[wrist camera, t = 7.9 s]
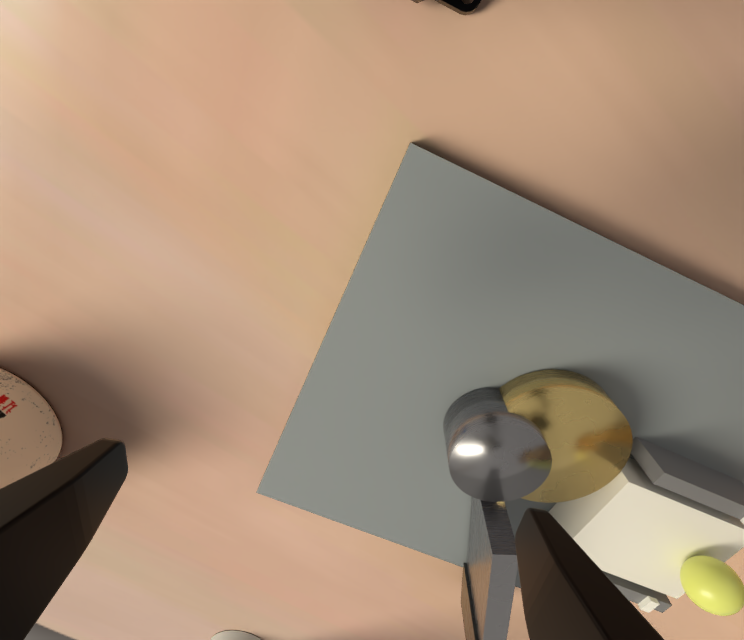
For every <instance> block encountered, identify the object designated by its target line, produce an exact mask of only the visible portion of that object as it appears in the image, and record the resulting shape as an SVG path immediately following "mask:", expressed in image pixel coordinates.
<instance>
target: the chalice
mask: <svg viewBox="0 0 744 640" xmlns="http://www.w3.org/2000/svg"><path fill="white" fill-rule="evenodd" d="M211 640H261V639H260V638H258V637H256V636H254V635H252V634H249V633H246V632H243V631H234V630H231V631H223V632H220V633H217V634H215V635H214V636H213V637H212V638H211Z"/></svg>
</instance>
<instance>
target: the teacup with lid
mask: <svg viewBox="0 0 744 640" xmlns="http://www.w3.org/2000/svg"><path fill="white" fill-rule="evenodd" d="M61 446H62V431H61V427H60V424H59V421H58V419H57V417H56V415H55V413H54V411H53V410H52V408H51V407H50V405H49V404H48V403H47V402H46V400H45V399H44V398H43V397H42V396H41V395H40V394H39V393H38V392H37V391H36V390H35V389H34V388H32V387H31V386H30V385H29V384H27V383H26V382H25V381H23V380H22V379H20V378H19V377H17V376H15V375H13V374H12V373H10V372H8V371H5V370H3V369H1V368H0V489H1V488H3V487H5V486H7V485H9V484H11V483H13V482H15V481H17V480H19V479H21V478H23V477H25V476H27V475H29V474H31V473H33V472H35V471H37V470H39V469H41V468H43V467H45V466H47V465H49V464H51V463H53V462H54V461H55V460H56V458H57V457H58V455H59V453H60V450H61Z"/></svg>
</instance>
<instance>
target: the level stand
mask: <svg viewBox="0 0 744 640" xmlns="http://www.w3.org/2000/svg"><path fill="white" fill-rule="evenodd" d="M550 369H557V370H567V371H572V372H576V373H579V374H582V375H584V376H586V377H588V378H590V379H591V380H593V381H595V382H596V383H597V384H598V385H599V386H601V388H602V389H603V390H604V391H605V392H606V394H607V395H608V396H609V397H610V399H611V400H612V401H613V402H614V404H615V405H616V406H617V407H618V409H619V410H620V411H621V412H622V414H623V415H624V416H625V418H626V419H627V421H628V423H629V425H630V428H631V431H632V437H633V444H632V450H631V454H630V456H629V458H631V459H634V460H636V461H637V462H638V463H639V465H640V466H641V468H642V469H643V470H644V472H645V473H646V474H647V476H648V477H649V479H650V480H651V481H652V483H653V484H655V485H658V486H660V487H662V488H665V489H667V490H670V491H672V492H675V493H677V494H679V495H682V496H684V497H687V498H689V499H692V500H694V501H696V502H699V503H701V504H704V505H706V506H709V507H711V508H713V509H716V510H718V511H721V512H723V513H725V514H728V515H730V516H733V517H735V518H738V519H740V521H741V522H742V523H743V524H744V305H742V304H740V303H738V302H736V301H734V300H732V299H730V298H728V297H726V296H724V295H722V294H720V293H718V292H716V291H714V290H712V289H710V288H708V287H706V286H704V285H701V284H699V283H697V282H695V281H693V280H691V279H689V278H687V277H685V276H683V275H681V274H679V273H677V272H675V271H673V270H671V269H669V268H667V267H665V266H662V265H660V264H658V263H656V262H654V261H652V260H650V259H648V258H646V257H644V256H642V255H640V254H638V253H636V252H634V251H632V250H630V249H628V248H626V247H624V246H621V245H619V244H617V243H615V242H613V241H611V240H609V239H607V238H605V237H603V236H601V235H599V234H597V233H595V232H593V231H591V230H589V229H587V228H585V227H583V226H580V225H578V224H576V223H574V222H572V221H570V220H568V219H566V218H564V217H562V216H560V215H558V214H556V213H554V212H552V211H550V210H548V209H546V208H544V207H542V206H539V205H537V204H535V203H533V202H531V201H529V200H527V199H525V198H523V197H521V196H519V195H517V194H515V193H513V192H511V191H509V190H507V189H505V188H503V187H501V186H498V185H496V184H494V183H492V182H490V181H488V180H486V179H484V178H482V177H480V176H478V175H476V174H474V173H472V172H470V171H468V170H466V169H464V168H462V167H460V166H457V165H455V164H453V163H451V162H449V161H447V160H445V159H443V158H441V157H439V156H437V155H435V154H433V153H431V152H429V151H427V150H425V149H423V148H421V147H419V146H416V145H414V144H412V143H410V144H409V147H408V149H407V151H406V153H405V156H404V158H403V160H402V163H401V165H400V167H399V169H398V172H397V174H396V176H395V178H394V181H393V183H392V185H391V187H390V190H389V192H388V194H387V197H386V199H385V201H384V203H383V206H382V208H381V210H380V212H379V215H378V217H377V219H376V222H375V224H374V226H373V228H372V231H371V233H370V235H369V237H368V240H367V242H366V244H365V246H364V249H363V251H362V253H361V256H360V258H359V260H358V262H357V265H356V267H355V269H354V271H353V274H352V276H351V278H350V281H349V283H348V285H347V287H346V290H345V292H344V294H343V296H342V299H341V301H340V303H339V305H338V308H337V310H336V312H335V315H334V317H333V319H332V321H331V324H330V326H329V328H328V330H327V333H326V335H325V337H324V339H323V342H322V344H321V346H320V349H319V351H318V353H317V355H316V358H315V360H314V362H313V364H312V367H311V369H310V371H309V374H308V376H307V378H306V380H305V383H304V385H303V387H302V389H301V392H300V394H299V396H298V398H297V401H296V403H295V405H294V408H293V410H292V412H291V414H290V417H289V419H288V421H287V423H286V426H285V428H284V430H283V433H282V435H281V437H280V439H279V442H278V444H277V446H276V448H275V451H274V453H273V455H272V457H271V460H270V462H269V464H268V467H267V469H266V471H265V473H264V476H263V478H262V480H261V482H260V485H259V487H258V490H257V492H256V493H259V494H262V495H264V496H267V497H270V498H273V499H275V500H278V501H281V502H284V503H286V504H289V505H292V506H295V507H298V508H300V509H303V510H306V511H309V512H311V513H314V514H317V515H320V516H322V517H325V518H328V519H331V520H334V521H336V522H339V523H342V524H345V525H347V526H350V527H353V528H356V529H358V530H361V531H364V532H367V533H370V534H372V535H375V536H378V537H381V538H383V539H386V540H389V541H392V542H394V543H397V544H400V545H403V546H405V547H408V548H411V549H414V550H417V551H419V552H422V553H425V554H428V555H430V556H433V557H436V558H439V559H441V560H444V561H447V562H450V563H453V564H455V565H458V566H461V567H463V563H467V551H468V538H469V525H470V512H471V499H472V497H471V496H469V495H467V494H466V493H464V492H463V491H462V490H460V489H459V488H458V487H457V485H456V484H455V483H454V481H453V480H452V477H451V475H450V471H449V464H448V458H447V451H446V444H445V437H444V431H443V421H444V417H445V414H446V412H447V410H448V409H449V407H450V406H451V405H452V404H453V402H455V401H456V400H457V399H458V398H460V397H461V396H463V395H464V394H466V393H469V392H471V391H474V390H477V389H483V388H500V387H501V386H503V385H504V384H506V383H507V382H509V381H511V380H513V379H515V378H516V377H519V376H521V375H524V374H527V373H531V372H534V371H540V370H550ZM555 504H556V503H544V502H535V501H529V500H526V499H522V498H519V499H516V500H511V501H505V506H506V509H507V513H508V516H509V520H510V523H511V527H512V530H513V534H514V537H515V534H516V531H517V528H518V526H519V524H520V521H521V519H522V517H523V515H524V512H525V511H526V509H527V508H530V507H531V508H537V509H543V510H546V511H548V512H549V511H550V510H551V509H552V508H553V506H554V505H555ZM603 573H604V574H605V575H606V576H607V577H608V578H609V579H610V580H611V581H612V582H613V584H614V585H615V586H616V587H617V588H618V589H619V590H620V591H621V592H622V594H623V595H624V596H625V597H626V598H627V599H628V600H629V601H632V602H635V603H638V606H639V608H640V610H643V611H645V612H648V613H650V612H651V611H652V610H653V609H654V610H657V611H659V612H662V613H663V612H664V611H665V610H667V609H668V608H669V607H671V606H672V604H671V603H670V601H669V599H668V597H667V596H666V594H663V593H660V592H658V591H655V590H652V589H650V588H647V587H644V586H642V585H639V584H636V583H634V582H631V581H628V580H626V579H623V578H621V577H618V576H615V575H613V574H610V573H607V572H605V571H603ZM515 586H516V587H519V588H521V585H520V577H519V569H517V575H516V581H515Z"/></svg>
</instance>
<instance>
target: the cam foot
mask: <svg viewBox="0 0 744 640" xmlns="http://www.w3.org/2000/svg"><path fill="white" fill-rule="evenodd" d="M549 513H550V514H551V515H552V516H553V517H554V518H555V519H556V521H557V522H558V523H559V524H560V525H561V526H562V527H563V528H564V529H565V531H566V532H567V533H568V534H569V535H570V536H571V537H572V538H573V539H574V540H575V542H576V543H577V544H578V545H579V546H580V547H581V548H582V549H583V550H584V552H585V553H586V554H587V555H588V556H589V557H590V558H591V559H592V560H593V561H594V563H595V564H596V565H597V566H598V567H599V568H600V569H601V570H602V571H605V572H607V573H610V574H613V575H615V576H618V577H621V578H623V579H626V580H628V581H631V582H634V583H636V584H639V585H642V586H644V587H647V588H650V589H652V590H655V591H658V592H660V593H663V594H666V595H668V596H671V597H674V598H676V599H678V598H679V597H680V596H682V595H683V594H684V593H686V594H687V596H688V597H689V598H690V599H691V600H692V601H693V602H694V603H695V604H696V605H697V606H699V607H700V608H701V609H703V610H705V611H707V612H709V613H712V614H715V615H720V616H728V615H733V614H735V613H737V612H739V611H740V610H741V609H742V607H743V606H744V585H743V583H742V581H741V579H740V578H739V576H738V575H737V574H736V572H735V571H734V570H733V569H732V568H731V567H729V566H728V565H727V564H725V563H724V562H725V561H727V560H728V559H729V558H730V557H732V556H733V555H734V554H736V553H737V552H738V551H739V550H741V549H742V548H743V547H744V524H743V523H742V522H741V521H740V519H738V518H735V517H733V516H730V515H728V514H725V513H723V512H721V511H718V510H716V509H713V508H711V507H709V506H706V505H704V504H701V503H699V502H696V501H694V500H692V499H689V498H687V497H684V496H682V495H679V494H677V493H675V492H672V491H670V490H667V489H665V488H662V487H660V486H658V485H655V484H653V483H652V481H651V480H650V479H649V477H648V476H647V474H646V473H645V472H644V470H643V469H642V468H641V466H640V465H639V463H638V462H637V461H636V460H634V459H631V458H629V459H628V461H627V463H626V465H625V466H624V468H623V469H622V470H621V472H620V473H619V474H618V475H617V476H616V477H615V478H614V479H613V480H612V481H611V482H609V483H608V484H607V485H605V486H604V487H602V488H601V489H599V490H597V491H596V492H594V493H592V494H589V495H587V496H584V497H581V498H578V499H575V500H570V501H565V502H557V503H556V504H555V505H554V506H553V508H552V509H551V510H550V511H549Z"/></svg>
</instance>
